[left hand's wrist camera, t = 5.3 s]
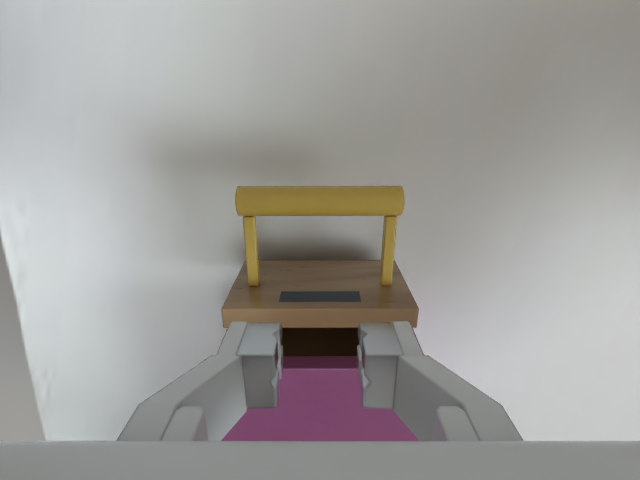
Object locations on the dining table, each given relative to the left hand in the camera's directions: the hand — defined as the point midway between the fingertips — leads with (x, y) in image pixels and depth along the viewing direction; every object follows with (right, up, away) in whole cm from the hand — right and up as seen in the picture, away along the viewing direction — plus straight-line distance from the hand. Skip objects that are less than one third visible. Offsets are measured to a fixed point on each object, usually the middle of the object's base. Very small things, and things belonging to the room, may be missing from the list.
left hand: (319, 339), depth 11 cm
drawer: (0, -4, +15) cm, 16 cm away
